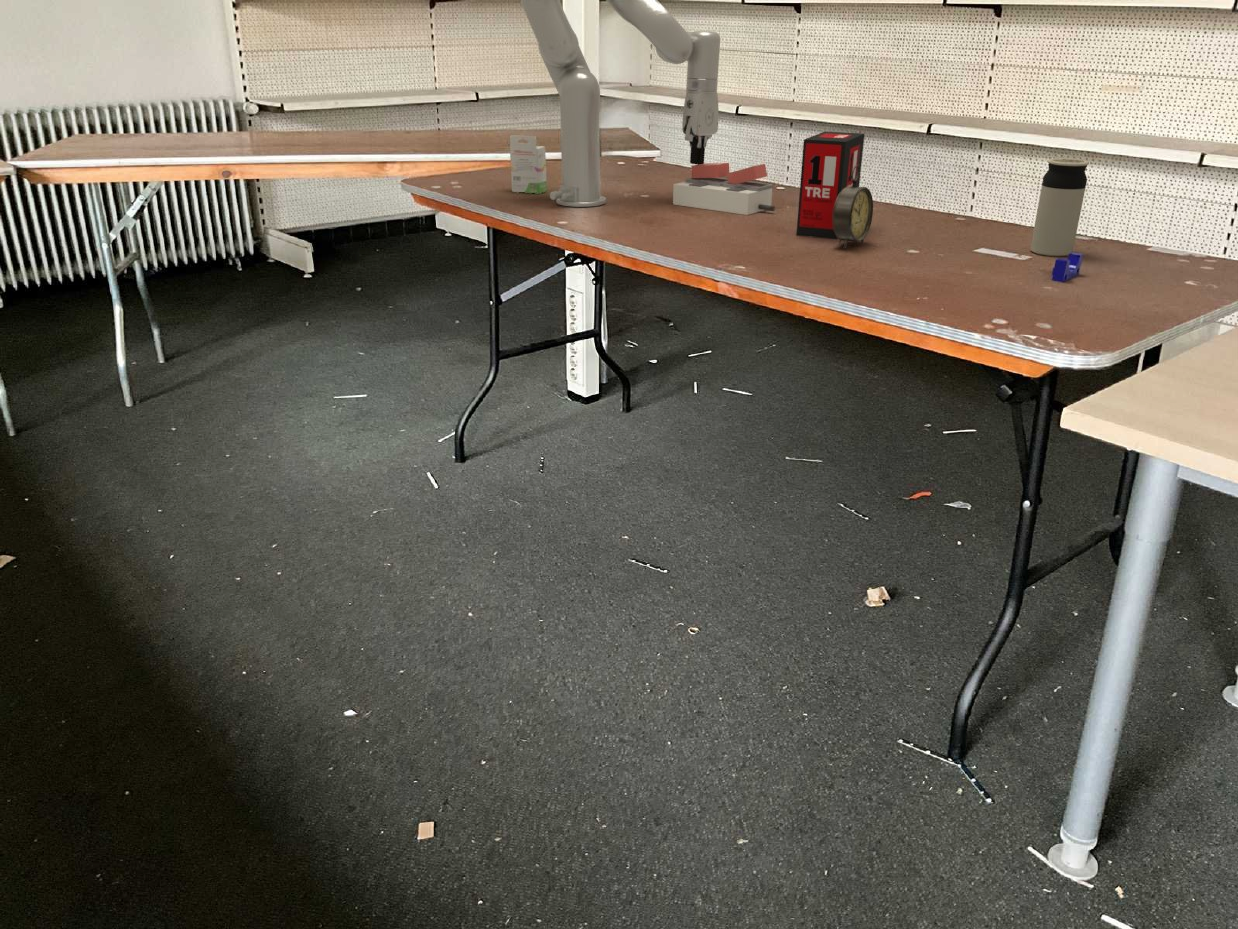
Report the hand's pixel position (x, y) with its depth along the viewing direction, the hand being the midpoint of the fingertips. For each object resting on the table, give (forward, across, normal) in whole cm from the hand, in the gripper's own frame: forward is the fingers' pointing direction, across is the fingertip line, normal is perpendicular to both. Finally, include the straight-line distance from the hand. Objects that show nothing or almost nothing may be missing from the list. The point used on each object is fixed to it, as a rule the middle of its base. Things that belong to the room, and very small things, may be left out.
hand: (696, 163), depth 246 cm
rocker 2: (+2, 0, -15) cm, 16 cm away
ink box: (+11, -16, +43) cm, 47 cm away
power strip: (+9, -2, -11) cm, 15 cm away
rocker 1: (+2, 0, -4) cm, 5 cm away
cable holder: (+8, -24, -97) cm, 100 cm away
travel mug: (+8, -4, -90) cm, 90 cm away
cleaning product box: (+9, -12, -43) cm, 46 cm away
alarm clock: (+9, -24, -54) cm, 59 cm away
